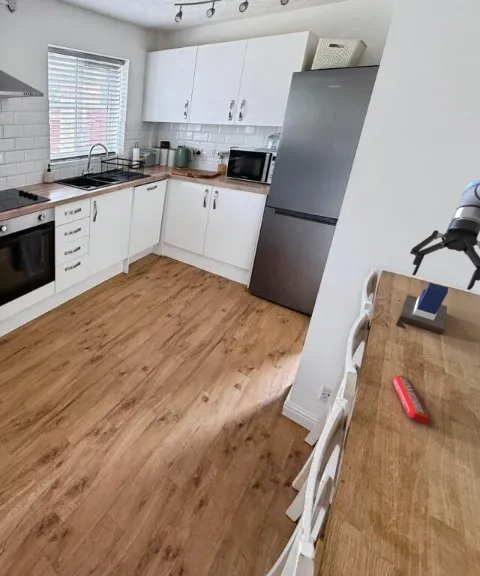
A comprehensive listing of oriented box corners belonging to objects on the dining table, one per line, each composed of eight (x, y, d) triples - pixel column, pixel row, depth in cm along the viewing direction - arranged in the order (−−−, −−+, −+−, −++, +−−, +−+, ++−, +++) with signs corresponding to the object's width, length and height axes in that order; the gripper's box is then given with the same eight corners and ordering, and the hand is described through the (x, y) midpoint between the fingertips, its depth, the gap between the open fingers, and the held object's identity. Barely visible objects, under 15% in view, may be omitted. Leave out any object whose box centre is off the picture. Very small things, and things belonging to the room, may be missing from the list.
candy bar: (428, 429, 81) (434, 420, 80) (408, 424, 83) (414, 414, 81) (405, 383, 95) (410, 374, 93) (388, 379, 96) (393, 370, 94)
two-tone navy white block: (416, 301, 127) (430, 275, 122) (435, 306, 124) (450, 280, 119) (413, 314, 119) (427, 286, 114) (433, 320, 116) (449, 292, 111)
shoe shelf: (402, 304, 133) (407, 294, 131) (441, 316, 127) (447, 306, 125) (395, 325, 120) (400, 315, 118) (438, 340, 113) (444, 329, 111)
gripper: (514, 240, 114) (490, 299, 111) (414, 221, 129) (391, 272, 126) (526, 228, 108) (501, 289, 105) (420, 209, 123) (395, 263, 120)
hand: (441, 280), depth 116 cm, fingers open, 13 cm apart
